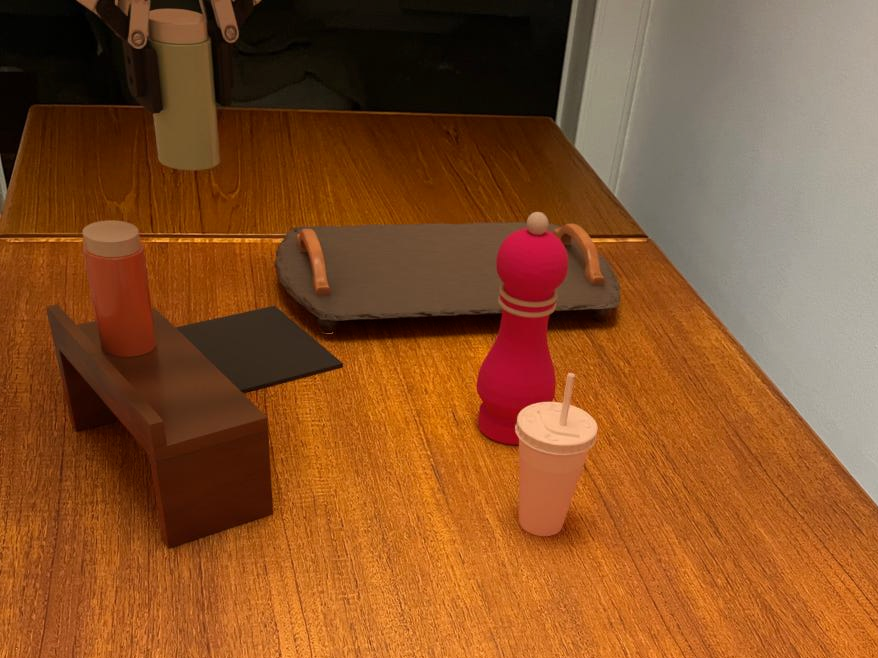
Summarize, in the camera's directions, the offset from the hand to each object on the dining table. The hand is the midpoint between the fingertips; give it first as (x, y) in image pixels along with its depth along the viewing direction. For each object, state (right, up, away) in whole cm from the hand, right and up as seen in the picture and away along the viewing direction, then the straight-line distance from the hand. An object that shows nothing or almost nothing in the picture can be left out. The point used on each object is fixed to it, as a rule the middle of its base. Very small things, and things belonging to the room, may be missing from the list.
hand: (183, 101), depth 71 cm
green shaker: (0, -3, +3) cm, 4 cm away
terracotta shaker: (-8, -14, +11) cm, 19 cm away
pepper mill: (+24, -18, +24) cm, 38 cm away
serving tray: (+17, +2, +44) cm, 48 cm away
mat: (-2, -9, +29) cm, 31 cm away
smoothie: (+26, -28, +13) cm, 41 cm away
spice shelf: (-5, -23, +14) cm, 28 cm away
